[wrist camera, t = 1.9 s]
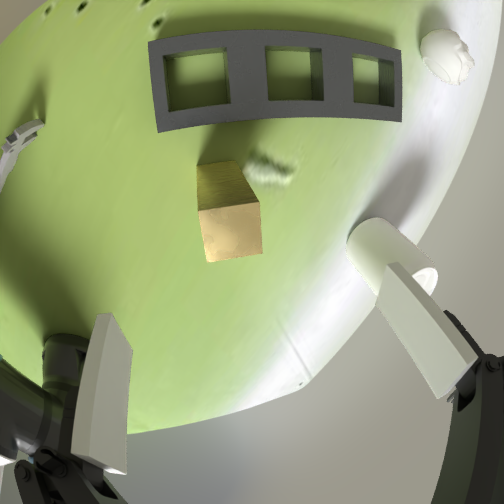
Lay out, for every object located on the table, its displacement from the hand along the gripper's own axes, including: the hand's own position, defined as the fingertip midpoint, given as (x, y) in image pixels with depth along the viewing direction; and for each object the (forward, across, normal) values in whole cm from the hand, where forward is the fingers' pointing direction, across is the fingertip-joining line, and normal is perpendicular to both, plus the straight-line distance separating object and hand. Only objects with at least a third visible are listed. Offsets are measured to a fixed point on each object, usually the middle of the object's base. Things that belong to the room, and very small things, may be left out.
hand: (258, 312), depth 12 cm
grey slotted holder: (+20, -8, -11) cm, 24 cm away
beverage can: (+20, -20, +11) cm, 30 cm away
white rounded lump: (+20, -29, -17) cm, 39 cm away
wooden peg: (+20, 0, 0) cm, 20 cm away
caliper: (+20, +27, -6) cm, 34 cm away
